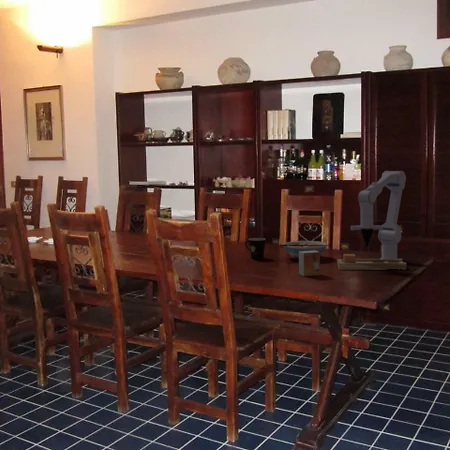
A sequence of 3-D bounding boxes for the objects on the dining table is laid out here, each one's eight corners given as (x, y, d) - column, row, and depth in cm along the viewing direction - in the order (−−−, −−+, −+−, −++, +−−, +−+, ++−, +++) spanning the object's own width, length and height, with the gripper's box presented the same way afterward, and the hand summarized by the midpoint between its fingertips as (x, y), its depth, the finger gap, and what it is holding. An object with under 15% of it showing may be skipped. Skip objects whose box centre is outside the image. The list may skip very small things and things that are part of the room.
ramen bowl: (327, 254, 323) (327, 238, 322) (331, 262, 300) (331, 245, 299) (280, 254, 325) (280, 239, 324) (280, 262, 303) (279, 246, 302)
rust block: (343, 262, 288) (343, 253, 288) (354, 262, 288) (354, 253, 287) (344, 264, 283) (344, 255, 283) (355, 264, 283) (355, 255, 282)
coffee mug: (268, 258, 313) (268, 239, 312) (253, 260, 310) (252, 240, 309) (259, 255, 324) (258, 236, 323) (244, 256, 321) (243, 238, 320)
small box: (303, 276, 268) (303, 253, 267) (298, 274, 274) (298, 251, 272) (320, 275, 270) (320, 251, 269) (315, 272, 276) (315, 249, 274)
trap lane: (337, 265, 292) (337, 259, 291) (401, 265, 289) (401, 258, 288) (339, 269, 281) (339, 263, 281) (406, 269, 278) (406, 263, 277)
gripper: (351, 217, 279) (351, 246, 281) (384, 217, 277) (384, 246, 279) (350, 215, 286) (350, 244, 288) (381, 215, 284) (381, 244, 286)
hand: (366, 245), depth 284 cm, fingers closed
